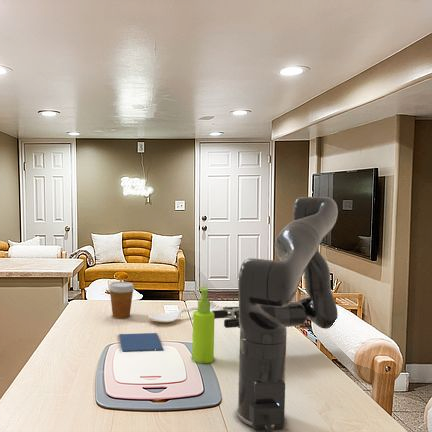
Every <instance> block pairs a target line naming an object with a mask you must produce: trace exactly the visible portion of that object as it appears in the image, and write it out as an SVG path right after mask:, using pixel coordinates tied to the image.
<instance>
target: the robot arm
mask: <svg viewBox="0 0 432 432" xmlns="http://www.w3.org/2000/svg"><path fill="white" fill-rule="evenodd" d="M338 210H339V209H338V205H337V202H336V201H335V200H334V199H333V198H332V197H328V196H300V197H297V198H296V199H295V200H294V203H293V208H292V219H293V220H292V221H290V222H289V223H288V224H287V225H285V226H284V227H283V228H282V229H281V231H280V232H279V233H278V235H277V237H276V239H275V241H274V249H275V250H274V251H275V253H276V256H277V258H278V260H275V259H264V258H255V257H253V258H252V257H251V258H249V257H248V258H246V259H245V260H243V262H242V263H241V265H240V268H239V273H238V281H237V285H238V287H237V288H238V306H227V307H226V306H222V307H223V310H215V311H212V312H213V313H214V320H215V319H216V320H217V319H224V320H223V327H224V328H225V329H230V328H231V329H232V328H239V357H238V358H239V359H238V391H237V392H238V394H237V395H238V397H237V398H238V399H237V417H238V419H239V421H241V422H242V423H243V424H245V425H247V426H249V427H251V428H252V429H253V430H254V431H264V430H266V432H272V430H280V429H281V430H282V429H284V428H285V408H286V360H287V334H288V331H287V328H292V327H294V328H295V327H301V326H303V325H304V324H305V323H306V321H307V320H308V321H311V322H312V323H314V324H315V325H316V326H317V327H318V328H321V329H324V330H328V329H331V328H332V327H333V326H334V325H333V323H334V322H335V320H336V319H337V320H338V317H339V316H338V315H339V314H338V308H337V303H336V300H335V297H334V294H333V292H332V285H331V284H332V283H331V271H330V266H329V264H328V262H327V261H326V259H325V257H324V256H323V255H322V253H321V252H320V250H318V249H319V248H320V246H321V243H322V242H323V240H324V238H325V237H326V236H327V235H328V234H329V233H330V232H331V231H332V230H333V228H334V227H335V225H336V223H337V220H338V216H339V215H338V214H339V211H338ZM303 276H304V288H305V292H306V294H307V296H308V297H304V298H302V299H299V300H296V301H293V300H294V298H295V296H296V293H297V292H298V288H299V286H300V284H301V280H302V279H303ZM332 325H333V326H332ZM331 326H332V327H331ZM330 327H331V328H330Z"/></svg>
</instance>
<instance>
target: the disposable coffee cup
mask: <svg viewBox="0 0 432 432" xmlns="http://www.w3.org/2000/svg"><path fill="white" fill-rule="evenodd" d="M134 289H135V286H134V284H133V283H132V282H129V281H114V282H110V283H109V286H108V290H109V295H110V304H111V312H112V317H113V318H115V319H127V318H129V317H130V316H131V309H132V300H133V294H134Z"/></svg>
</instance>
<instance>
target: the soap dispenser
mask: <svg viewBox="0 0 432 432" xmlns="http://www.w3.org/2000/svg"><path fill="white" fill-rule="evenodd" d="M198 290H200V299H198V300H197V308H198V310H193V312H192V350H191V351H192V352H191V353H192V355H193V356H192V355H191V356H192V357H191V359H192V361H194V362H196V363H199V364H211V363H212V362H214V354H215V353H214V352H215V319H214V313H213V312H211V311H210V302H211V300H210V299H208V293H209V289H208V287H207V286H198ZM194 357H195V358H194Z"/></svg>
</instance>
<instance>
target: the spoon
mask: <svg viewBox="0 0 432 432" xmlns="http://www.w3.org/2000/svg"><path fill="white" fill-rule="evenodd" d="M223 307H224V306H223V305H222V306H220V305H217V304H215V302H214V301H210V311H211V312H212V311H215V310H223ZM225 307H228V306H225ZM192 311H198V306H193V307H185V308H183V309H180V310H176V311H172V312H164V313H153V314H148V316H147V317H148V319H149V320H151V321H154V322H157V323H172V322H174V321H177V320H178V319H179V318H180V316H181V315H182V314H183V313H186V312H192Z"/></svg>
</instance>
